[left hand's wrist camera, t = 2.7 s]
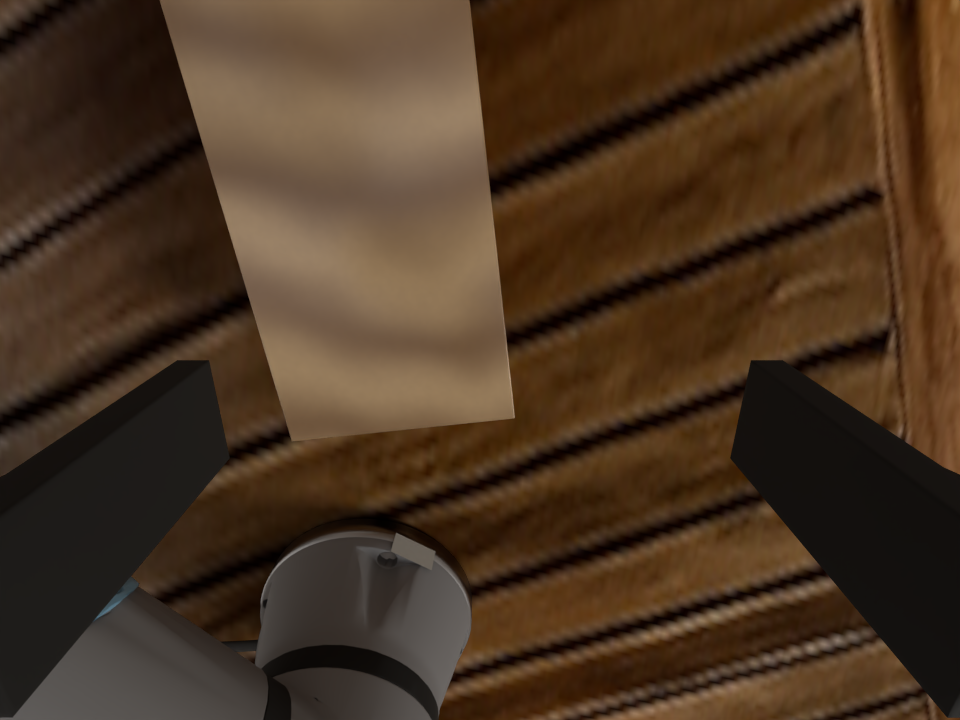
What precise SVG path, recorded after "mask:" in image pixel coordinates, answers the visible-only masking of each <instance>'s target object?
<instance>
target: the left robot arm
mask: <svg viewBox="0 0 960 720" xmlns="http://www.w3.org/2000/svg"><path fill="white" fill-rule="evenodd" d="M229 458H230V457H229V453H228V448H227V443H226V439H225V434H224V429H223V424H222V420H221V415H220V410H219V406H218V401H217V396H216V391H215V387H214V382H213V377H212V373H211V368H210V363H209V360H177V361H176V362H174V363H173V364H171V365H170V366H168V367H167V368H165V369H164V370H162V371H161V372H159V373H158V374H156V375H155V376H153V377H152V378H150V379H149V380H147V381H146V382H144V383H143V384H141V385H140V386H138V387H137V388H135V389H134V390H132V391H131V392H129V393H128V394H126V395H125V396H123V397H122V398H120V399H119V400H117V401H116V402H114V403H113V404H111V405H110V406H108V407H107V408H105V409H104V410H102V411H101V412H99V413H98V414H96V415H95V416H93V417H92V418H90V419H89V420H87V421H86V422H84V423H83V424H81V425H80V426H78V427H77V428H75V429H74V430H72V431H71V432H69V433H68V434H66V435H65V436H63V437H62V438H60V439H59V440H57V441H56V442H54V443H53V444H51V445H50V446H48V447H46V448H45V449H43V450H42V451H40V452H39V453H37V454H36V455H34V456H33V457H31V458H30V459H28V460H27V461H25V462H24V463H22V464H21V465H19V466H18V467H16V468H15V469H13V470H12V471H10V472H9V473H7V474H6V475H4V476H1V477H0V720H438V718H439V710H440V706H441V704H442V701H443V699H444V696H445V693H446V691H447V688H448V686H449V683H450V680H451V678H452V675H453V672H454V670H455V667H456V664H457V661H458V660H459V658H460V656H461V654H462V652H463V649H464V647H465V646H466V644H467V641H468V638H469V635H470V630H471V616H472V594H471V588H470V585H469V581H468V579H467V576H466V574H465V572H464V570H463V569H462V567H461V565H460V564H459V563H458V561H457V560H456V559H455V557H454V556H453V555H452V554H451V553H450V552H449V551H448V550H447V549H446V548H445V547H443V546H442V545H441V544H440V543H438V542H437V541H436V540H434V539H432V538H431V537H429V536H428V535H426V534H424V533H422V532H420V531H418V530H416V529H413V528H411V527H408V526H405V525H402V524H399V523H395V522H390V521H385V520H378V519H346V520H340V521H335V522H331V523H327V524H324V525H321V526H318V527H316V528H314V529H312V530H310V531H307V532H306V533H304V534H303V535H301V536H299V537H298V538H297V539H295V540H294V541H293V542H292V543H291V544H290V545H289V546H288V547H287V548H286V549H285V550H284V551H283V553H282V554H281V555H280V557H279V559H278V560H277V562H276V564H275V566H274V568H273V570H272V572H271V574H270V576H269V578H268V580H267V582H266V584H265V586H264V589H263V593H262V598H261V610H260V620H261V626H262V627H261V631H260V635H259V639H258V640H248V641H227V642H220V641H219V640H217V639H216V638H214V637H213V636H211V635H210V634H208V633H207V632H205V631H204V630H202V629H201V628H199V627H198V626H196V625H195V624H193V623H192V622H190V621H189V620H187V619H186V618H184V617H183V616H181V615H180V614H178V613H177V612H175V611H174V610H172V609H171V608H169V607H168V606H166V605H165V604H163V603H162V602H160V601H159V600H157V599H156V598H154V597H153V596H151V595H150V594H149V593H147V592H146V591H144V590H143V589H141V588H140V587H138V585H139V583H138V582H137V581H136V580H135V579H133V578H132V577H131V576H132V574H133V573H134V572H135V571H136V570H137V568H138V567H139V566H140V565H141V564H142V562H143V561H144V560H145V559H146V558H147V556H148V555H149V554H150V553H151V552H152V550H153V549H154V548H155V547H156V546H157V544H158V543H159V542H160V541H161V540H162V538H163V537H164V536H165V535H166V534H167V532H168V531H169V530H170V529H171V528H172V526H173V525H174V524H175V523H176V522H177V521H178V519H179V518H180V517H181V516H182V515H183V513H184V512H185V511H186V510H187V509H188V507H189V506H190V505H191V504H192V503H193V501H194V500H195V499H196V498H197V497H198V495H199V494H200V493H201V492H202V491H203V489H204V488H205V487H206V486H207V485H208V483H209V482H210V481H211V480H212V479H213V477H214V476H215V475H216V474H217V473H218V472H219V470H220V469H221V468H222V467H223V466H224V464H225V463H226V462H227V461H228V460H229ZM730 458H731V460H732V461H733V462H734V463H735V464H736V466H737V467H738V468H739V469H740V470H741V472H742V473H743V474H744V475H745V476H746V477H747V479H748V480H749V481H750V482H751V483H752V485H753V486H754V487H755V488H756V489H757V491H758V492H759V493H760V494H761V495H762V497H763V498H764V499H765V500H766V501H767V503H768V504H769V505H770V506H771V507H772V509H773V510H774V511H775V512H776V513H777V515H778V516H779V517H780V518H781V519H782V521H783V522H784V523H785V524H786V525H787V526H788V528H789V529H790V530H791V531H792V532H793V534H794V535H795V536H796V537H797V538H798V540H799V541H800V542H801V543H802V544H803V546H804V547H805V548H806V549H807V550H808V552H809V553H810V554H811V555H812V556H813V558H814V559H815V560H816V561H817V562H818V564H819V565H820V566H821V567H822V568H823V570H824V571H825V572H826V573H827V574H828V576H829V577H830V578H831V579H832V580H833V581H834V583H835V584H836V585H837V586H838V587H839V589H840V590H841V591H842V592H843V593H844V595H845V596H846V597H847V598H848V599H849V601H850V602H851V603H852V604H853V605H854V607H855V608H856V609H857V610H858V611H859V613H860V614H861V615H862V616H863V617H864V619H865V620H866V621H867V622H868V623H869V625H870V626H871V627H872V628H873V629H874V630H875V632H876V633H877V634H878V635H879V636H880V638H881V639H882V640H883V641H884V642H885V644H886V645H887V646H888V647H889V648H890V650H891V651H892V652H893V653H894V654H895V656H896V657H897V658H898V659H899V660H900V662H901V663H902V664H903V665H904V666H905V668H906V669H907V670H908V671H909V672H910V674H911V675H912V676H913V677H914V678H915V679H916V681H917V682H918V683H919V684H920V685H921V687H922V688H923V689H924V690H925V691H926V693H927V694H928V695H929V696H930V697H931V699H932V700H933V701H934V702H935V703H936V705H937V706H938V707H939V708H940V709H941V711H942V712H943V713H944V714H945V715H946V717H947V718H960V475H959V474H957V473H955V472H953V471H950V470H948V469H946V468H944V467H942V466H941V465H939V464H938V463H936V462H935V461H933V460H932V459H930V458H929V457H927V456H926V455H924V454H923V453H921V452H920V451H918V450H917V449H915V448H914V447H912V446H910V445H909V444H907V443H906V442H904V441H903V440H901V439H900V438H898V437H897V436H895V435H894V434H892V433H891V432H889V431H888V430H886V429H885V428H883V427H882V426H880V425H879V424H877V423H876V422H874V421H873V420H871V419H870V418H868V417H867V416H865V415H864V414H862V413H861V412H859V411H858V410H856V409H855V408H853V407H852V406H850V405H849V404H847V403H846V402H844V401H843V400H841V399H840V398H838V397H837V396H835V395H834V394H832V393H831V392H829V391H828V390H826V389H825V388H823V387H822V386H820V385H819V384H817V383H816V382H814V381H813V380H811V379H810V378H808V377H807V376H805V375H804V374H802V373H801V372H799V371H798V370H796V369H795V368H793V367H792V366H790V365H789V364H787V363H786V362H784V361H783V360H751V363H750V368H749V373H748V377H747V382H746V387H745V391H744V396H743V401H742V406H741V410H740V415H739V420H738V424H737V429H736V434H735V439H734V443H733V448H732V453H731V457H730ZM244 651H256V660H255V665H254V664H253V663H251V662H250V661H248V660H247V659H245V658H244V657H242V656H241V655H239V654H238V653H236V652H244Z"/></svg>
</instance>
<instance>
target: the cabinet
mask: <svg viewBox="0 0 960 720" xmlns="http://www.w3.org/2000/svg"><path fill="white" fill-rule="evenodd" d="M160 3H161V7H162V10H163V13H164V17H165V20H166V23H167V27H168V30H169V33H170V37H171V40H172V43H173V47H174V50H175V53H176V57H177V60H178V63H179V67H180V70H181V73H182V77H183V80H184V83H185V87H186V90H187V93H188V97H189V100H190V103H191V107H192V110H193V113H194V117H195V120H196V123H197V127H198V130H199V133H200V137H201V140H202V143H203V147H204V150H205V153H206V157H207V160H208V163H209V167H210V170H211V173H212V177H213V180H214V183H215V187H216V190H217V193H218V197H219V200H220V203H221V207H222V210H223V213H224V217H225V220H226V223H227V227H228V230H229V233H230V237H231V240H232V243H233V247H234V250H235V253H236V257H237V260H238V263H239V267H240V270H241V273H242V277H243V280H244V283H245V287H246V290H247V293H248V297H249V300H250V303H251V307H252V310H253V313H254V317H255V320H256V323H257V327H258V330H259V333H260V337H261V340H262V343H263V347H264V350H265V353H266V357H267V360H268V363H269V367H270V370H271V373H272V377H273V380H274V383H275V387H276V390H277V393H278V397H279V400H280V403H281V407H282V410H283V413H284V417H285V420H286V423H287V427H288V430H289V433H290V437H291V440H292V441H301V440H310V439H320V438H330V437H339V436H349V435H358V434H368V433H378V432H387V431H397V430H407V429H416V428H426V427H435V426H445V425H455V424H464V423H474V422H483V421H493V420H503V419H512V418H515V414H514V404H513V395H512V386H511V377H510V368H509V359H508V349H507V340H506V331H505V322H504V313H503V304H502V294H501V285H500V276H499V267H498V258H497V248H496V239H495V230H494V221H493V212H492V203H491V193H490V184H489V175H488V166H487V157H486V147H485V138H484V129H483V120H482V111H481V102H480V92H479V83H478V74H477V65H476V56H475V47H474V37H473V28H472V19H471V10H470V1H469V0H160Z"/></svg>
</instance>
